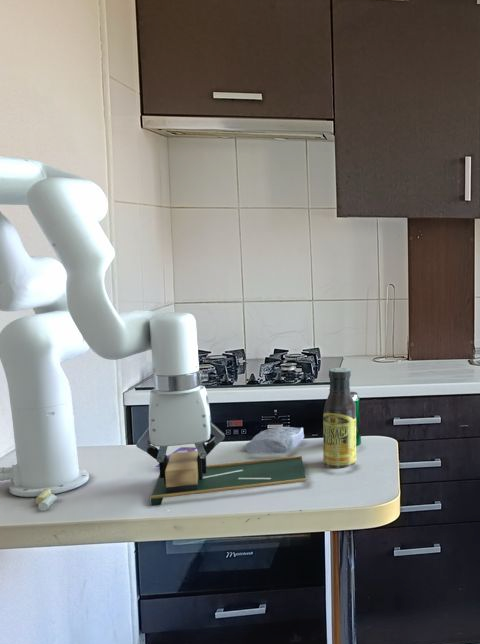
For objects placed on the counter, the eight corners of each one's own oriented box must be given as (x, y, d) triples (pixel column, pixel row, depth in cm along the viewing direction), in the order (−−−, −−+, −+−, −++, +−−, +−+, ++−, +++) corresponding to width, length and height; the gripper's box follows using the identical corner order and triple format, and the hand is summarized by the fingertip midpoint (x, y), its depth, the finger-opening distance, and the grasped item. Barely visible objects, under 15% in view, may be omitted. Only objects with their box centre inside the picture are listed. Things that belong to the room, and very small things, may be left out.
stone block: (245, 466, 153) (292, 457, 152) (239, 444, 152) (286, 434, 152) (264, 450, 165) (308, 441, 164) (259, 429, 164) (303, 420, 163)
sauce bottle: (318, 473, 144) (313, 371, 141) (332, 462, 150) (328, 365, 147) (349, 475, 142) (345, 373, 139) (363, 464, 148) (359, 366, 145)
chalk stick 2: (39, 501, 126) (49, 504, 127) (48, 492, 130) (57, 495, 130) (36, 509, 126) (46, 512, 127) (45, 500, 130) (54, 503, 130)
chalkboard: (151, 505, 128) (150, 496, 128) (160, 478, 142) (159, 470, 141) (307, 487, 136) (306, 479, 136) (302, 463, 149) (301, 455, 149)
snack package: (179, 462, 145) (154, 462, 145) (180, 471, 145) (155, 471, 145) (205, 443, 156) (182, 443, 156) (206, 452, 156) (183, 452, 157)
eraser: (166, 493, 131) (164, 471, 130) (172, 473, 140) (170, 453, 140) (197, 489, 132) (195, 468, 132) (200, 470, 142) (199, 450, 141)
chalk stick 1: (36, 496, 129) (46, 497, 129) (43, 487, 132) (52, 489, 133) (34, 504, 129) (43, 505, 129) (41, 495, 133) (50, 497, 133)
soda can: (335, 453, 156) (332, 396, 154) (338, 445, 161) (336, 391, 159) (359, 452, 156) (357, 396, 154) (362, 445, 161) (360, 390, 159)
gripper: (228, 374, 140) (234, 467, 142) (127, 380, 134) (135, 478, 137) (227, 382, 133) (233, 481, 135) (120, 390, 127) (129, 492, 130)
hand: (184, 478), depth 136 cm, fingers closed on eraser, 5 cm apart
